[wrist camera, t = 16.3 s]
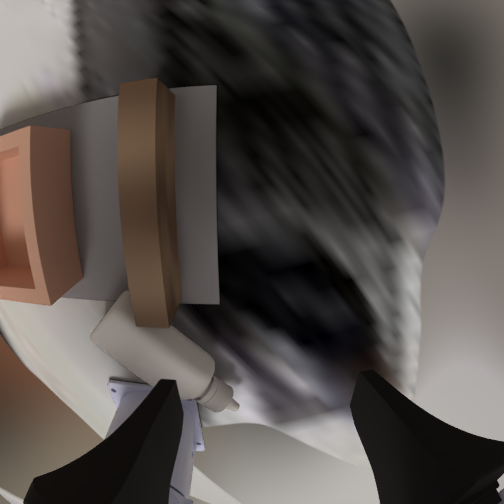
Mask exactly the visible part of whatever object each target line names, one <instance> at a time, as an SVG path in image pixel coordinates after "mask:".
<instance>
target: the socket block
mask: <svg viewBox="0 0 504 504" xmlns="http://www.w3.org/2000/svg"><path fill="white" fill-rule="evenodd" d="M82 279H83V274H82V268H81V263H80V257H79V250H78V243H77V236H76V228H75V220H74V210H73V198H72V182H71V130H68V129H60V128H51V127H41V126H28V127H25V128H22V129H19V130H16V131H13V132H10V133H8V134H5V135H2V136H0V299H4V300H10V301H17V302H25V303H33V304H41V305H49V306H51V305H52V304H54V303H55V302H56V301H57V300H58V299H59V298H60V297H62V296H63V295H64V294H65V293H66V292H67V291H69V290H70V289H71V288H72V287H73V286H75V285H76V284H77V283H78V282H79V281H80V280H82Z"/></svg>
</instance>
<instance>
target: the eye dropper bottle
mask: <svg viewBox="0 0 504 504" xmlns="http://www.w3.org/2000/svg"><path fill="white" fill-rule="evenodd" d="M90 339H91V340H92V341H93V342H94V343H95V344H96V345H97V346H98V347H100V348H101V349H102V350H103V351H105V352H106V353H107V354H108V355H110V356H111V357H112V358H113V359H115V360H116V361H117V362H119V363H120V364H121V365H123V366H124V367H125V368H127V369H128V370H129V371H131V372H132V373H134V374H135V375H136V376H138V377H139V378H141V379H142V380H143V381H145V382H146V383H148V384H149V385H151V386H152V387H154V386H155V385H156V384H157V382H158V381H159V380H160V379H172V380H176V382H177V387H178V391H179V395H180V399H181V400H187V399H194V400H195V401H196V402H198V403H200V404H201V405H203V406H205V407H207V408H208V409H210V410H212V411H213V412H221V411H222V410H224V409H225V408H226V409H229V410H232V411H237V410H238V409H239V404H238V403H237V402H236V401H235V400H234V399H233V398H232V397H233V389H232V387H230V386H229V385H227V384H226V383H224V382H223V381H221V380H220V379H218V378H217V377H215V376H214V375H213V374H214V370H215V361H214V359H213V358H212V356H211V355H210V354H208V353H207V352H206V351H205V350H203V349H202V348H201V347H199V346H198V345H197V344H195V343H194V342H193V341H191V340H190V339H189V338H188V337H186V336H185V335H184V334H182V333H181V332H180V331H179V330H177V329H176V328H175V327H173V326H172V325H170V328H152V327H136V324H135V319H134V314H133V309H132V303H131V297H130V291H124V292H123V293H122V294H121V295H120V297H119V298H118V299H117V300H116V302H115V303H114V304H113V306H112V307H111V308H110V309H109V311H108V312H107V313H106V315H105V316H104V317H103V319H102V320H101V321H100V323H99V324H98V325H97V327H96V328H95V329H94V331H93V332H92V333H91V335H90Z"/></svg>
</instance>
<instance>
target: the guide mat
mask: <svg viewBox="0 0 504 504" xmlns="http://www.w3.org/2000/svg"><path fill="white" fill-rule="evenodd" d="M169 90H170V91H171V92H172V93H173V94H175V137H174V151H175V198H176V221H177V239H178V253H179V267H180V278H181V289H182V299H181V301H180V304H220V298H219V274H218V244H217V198H216V103H217V85H209V86H192V87H180V88H169ZM118 99H119V96H115V97H109V98H104V99H100V100H95V101H91V102H86V103H82V104H78V105H74V106H70V107H66V108H63V109H59V110H56V111H52V112H49V113H46V114H43V115H39V116H36V117H33V118H30V119H27V120H25V121H22V122H19V123H16V124H14V125H11V126H8V127H6V128H3V129H1V130H0V136H2V135H5V134H8V133H10V132H13V131H16V130H19V129H22V128H25V127H28V126H41V127H51V128H60V129H68V130H71V182H72V198H73V210H74V220H75V228H76V236H77V243H78V250H79V257H80V263H81V268H82V274H83V279H82V280H80V281H79V282H78V283H77V284H76V285H75V286H73V287H72V288H71V289H70V290H69V291H67V292H66V293H65V294H64V295H63V296H62V297H63V298H76V299H89V300H105V301H116V300H117V299H118V298H119V297H120V295H121V294H122V293H123V292H124V291H129V285H128V279H127V272H126V265H125V257H124V249H123V240H122V231H121V220H120V207H119V191H118V166H117V123H118Z"/></svg>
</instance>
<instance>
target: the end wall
mask: <svg viewBox="0 0 504 504" xmlns="http://www.w3.org/2000/svg"><path fill="white" fill-rule="evenodd" d="M174 137H175V94H173V93H172V92H171V91H170V90H169V89H168V88H167V87H166V86H165V85H164V84H163V83H162V82H161V81H160V80H159V79H158V78H151V79H145V80H138V81H132V82H126V83H121V84H119V99H118V123H117V166H118V191H119V207H120V220H121V231H122V240H123V249H124V257H125V265H126V272H127V279H128V285H129V291H130V297H131V303H132V309H133V314H134V319H135V324H136V327H152V328H170V325H171V323H172V320H173V318H174V316H175V313H176V311H177V308H178V306H179V304H180V301H181V299H182V289H181V278H180V267H179V253H178V239H177V221H176V198H175V151H174Z"/></svg>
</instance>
